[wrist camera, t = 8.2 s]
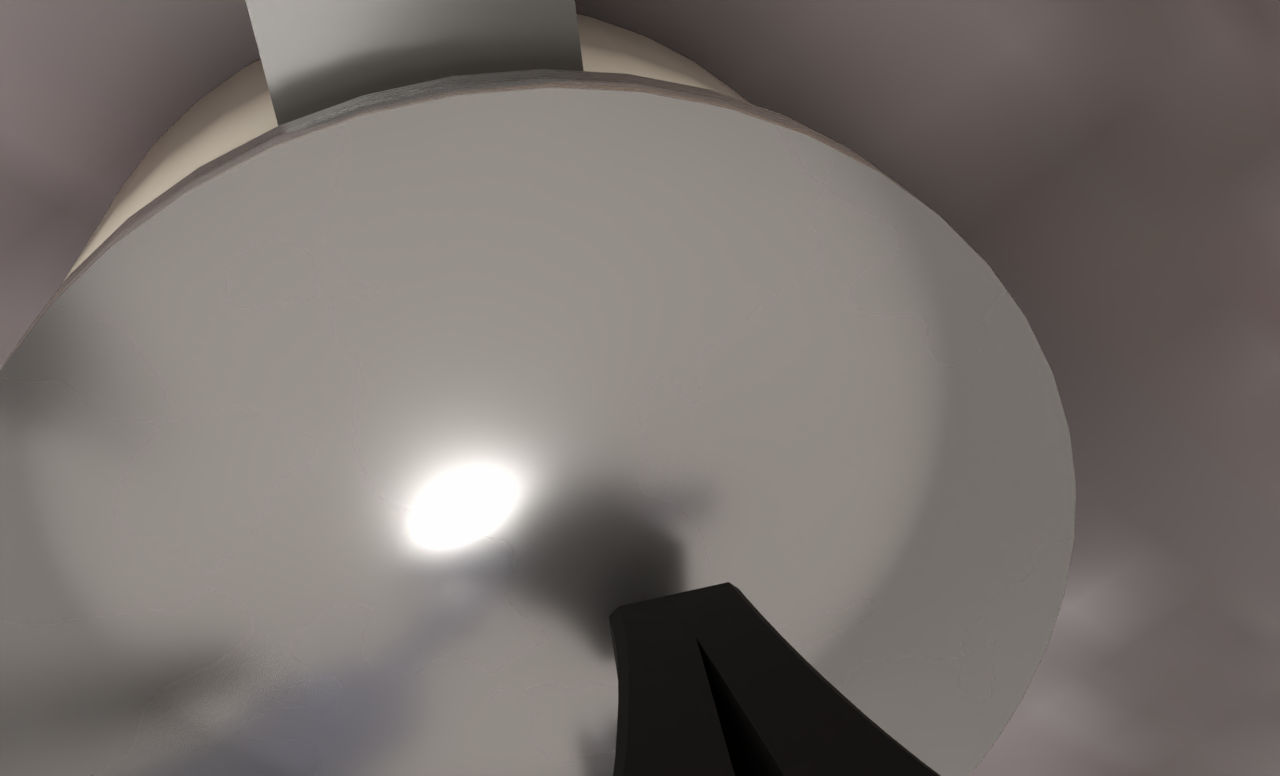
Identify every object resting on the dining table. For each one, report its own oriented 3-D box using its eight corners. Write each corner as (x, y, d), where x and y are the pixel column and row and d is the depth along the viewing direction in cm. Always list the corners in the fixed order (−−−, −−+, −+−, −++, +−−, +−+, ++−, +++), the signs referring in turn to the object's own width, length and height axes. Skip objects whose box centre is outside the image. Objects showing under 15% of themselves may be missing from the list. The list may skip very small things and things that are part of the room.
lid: (164, 1046, 16) (140, 1187, 14) (-285, 184, 9) (-416, 262, 8) (1010, 840, 17) (1072, 946, 15) (1086, -17, 11) (1202, 16, 9)
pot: (857, 918, 26) (956, 1146, 21) (326, 1058, 24) (317, 1335, 20) (848, -238, 14) (1051, -246, 10) (-152, -120, 13) (-413, -71, 9)
